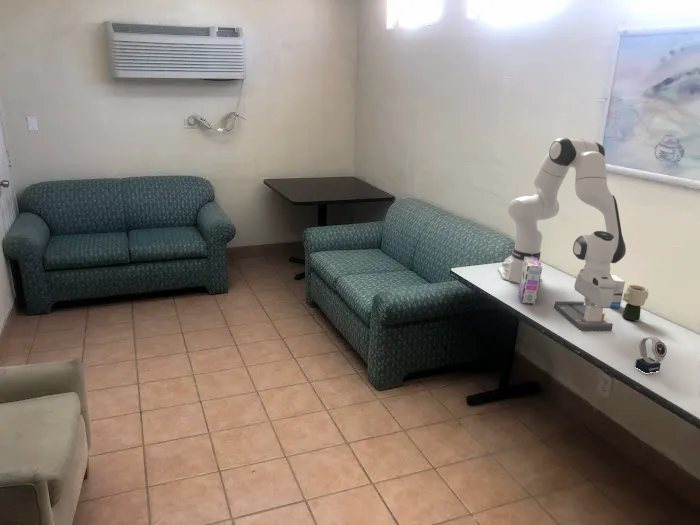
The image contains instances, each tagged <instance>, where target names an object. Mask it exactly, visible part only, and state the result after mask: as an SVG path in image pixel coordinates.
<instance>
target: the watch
mask: <svg viewBox="0 0 700 525" xmlns="http://www.w3.org/2000/svg"><path fill="white" fill-rule="evenodd" d="M648 340H651V345H652V346H651V352H652V354H653V356H654V358H655V359H653V358H652V357H651V356H649V357H648V352H647V351H648V350H647V345H646V342H647V341H648ZM638 347H639V348H638V349H639V350H638V351H639V354H640V357H641V358H636V361H635V365H634V368H635V367H636V368H638V369H640V370H641V371H643V372H645V373H650V372H656V371H659V372H660V370H661V365H662V363H661V362H662V361H664V359H665V358H666V355H667V353H668V352H667V351H668V349H667V346H666V344H665V342H662V341H661V339H659V338H658V337H655V336H648V337H644V338H642V339H641V340H640V341H639V345H638ZM641 371H640V372H641Z"/></svg>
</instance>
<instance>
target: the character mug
mask: <svg viewBox="0 0 700 525" xmlns="http://www.w3.org/2000/svg"><path fill="white" fill-rule="evenodd" d="M648 297H649V291H648V288H646V287H645V286H642V285H637V284H628V285H627V287H626V290H625V292H623V295H622V300H623V301H625V303H626V304H625V306H624V309H623V312H622V317H623V318H625V319H626V320H631V321H634V322H635V321H636V322H638V321H640V319H641V318H640V317H641V308H642V306H644V305H645V304H646V300H648Z"/></svg>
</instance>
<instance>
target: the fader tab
mask: <svg viewBox="0 0 700 525" xmlns="http://www.w3.org/2000/svg"><path fill="white" fill-rule="evenodd" d="M602 313H604V308H599V307H598V306H597V305H595V306H592V305H586V310H585V315H584V317H582V320H583V321H584V322H586V323H603V322H602V321H601V318H602Z"/></svg>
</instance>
